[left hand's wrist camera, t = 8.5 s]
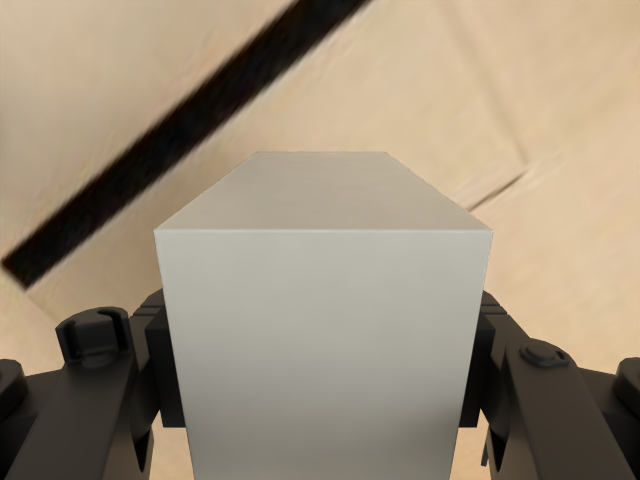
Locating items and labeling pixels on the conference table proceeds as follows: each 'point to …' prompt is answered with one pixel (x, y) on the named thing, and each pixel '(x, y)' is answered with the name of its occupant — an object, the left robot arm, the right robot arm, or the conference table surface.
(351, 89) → the conference table surface
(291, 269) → the bar
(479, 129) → the conference table surface
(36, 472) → the left robot arm
